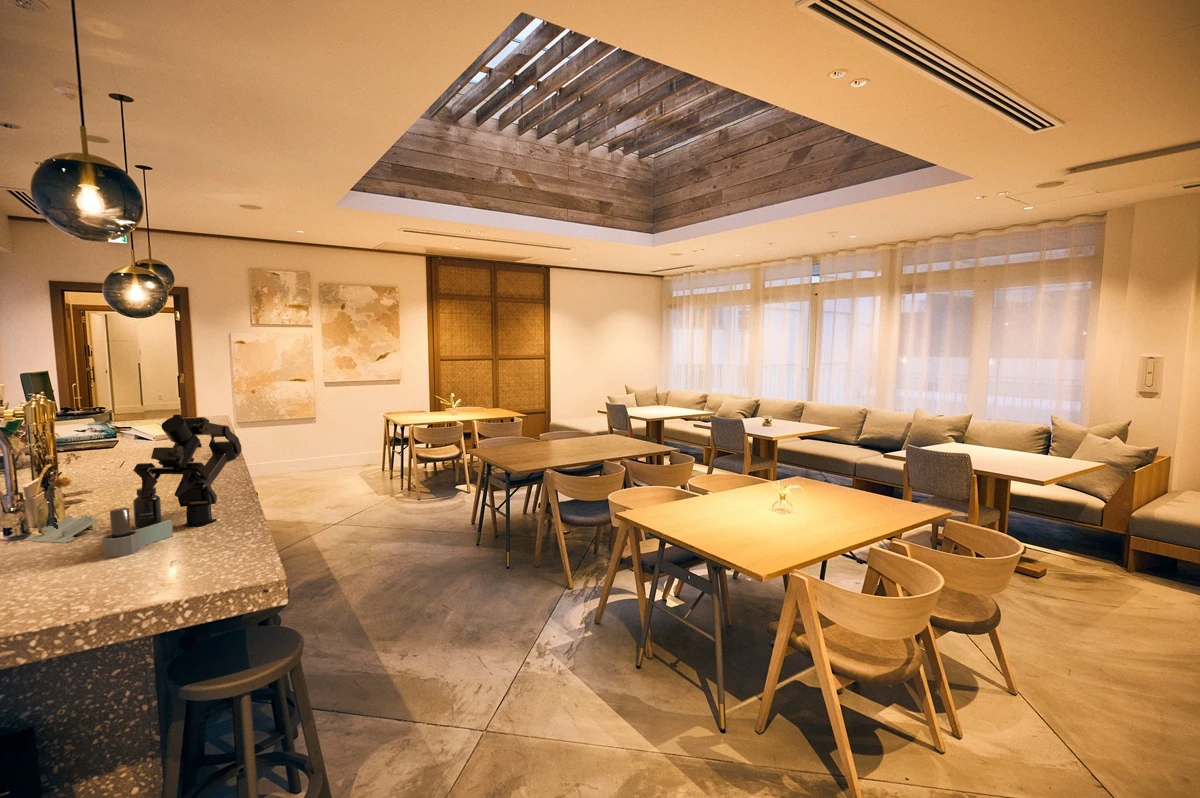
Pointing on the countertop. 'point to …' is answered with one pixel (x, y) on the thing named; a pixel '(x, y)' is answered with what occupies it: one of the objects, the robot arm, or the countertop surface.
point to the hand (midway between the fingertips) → (159, 496)
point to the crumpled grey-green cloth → (64, 530)
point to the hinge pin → (120, 523)
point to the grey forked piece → (136, 539)
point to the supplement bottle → (147, 509)
